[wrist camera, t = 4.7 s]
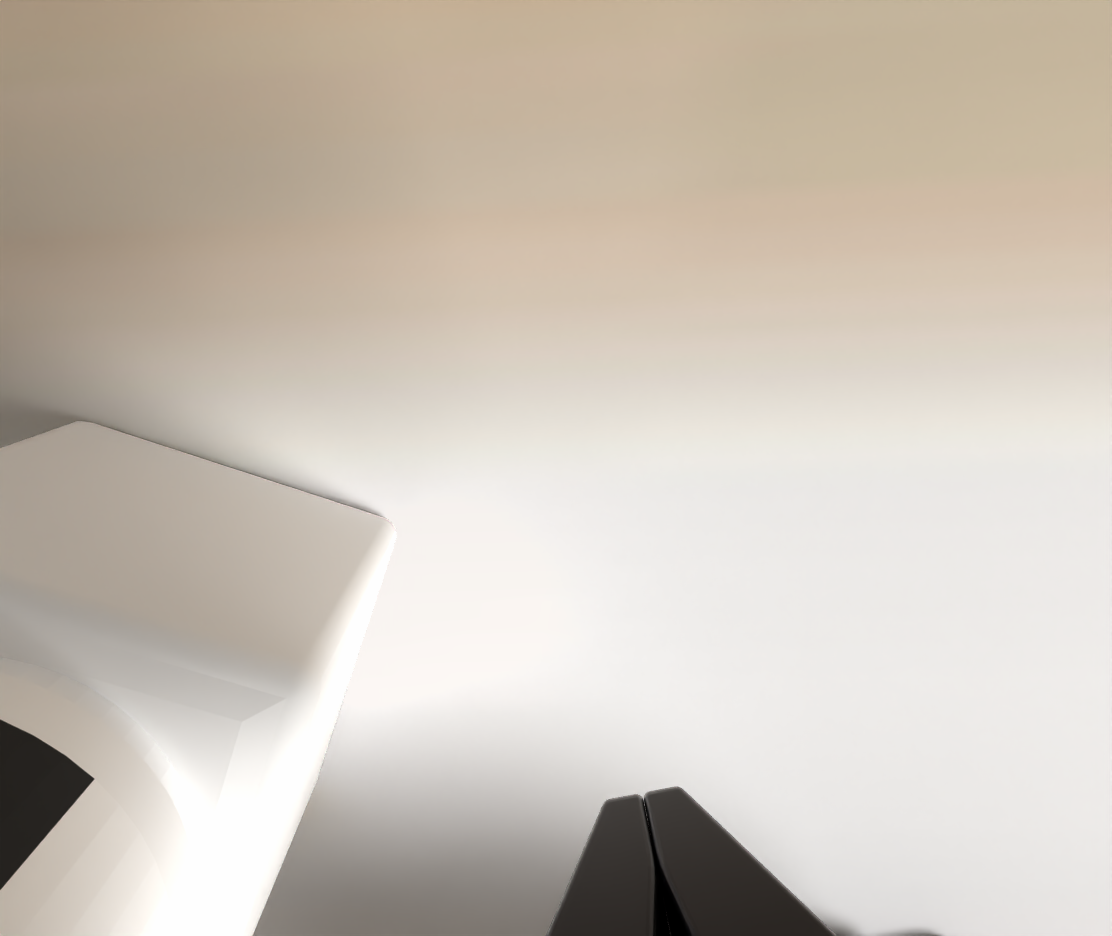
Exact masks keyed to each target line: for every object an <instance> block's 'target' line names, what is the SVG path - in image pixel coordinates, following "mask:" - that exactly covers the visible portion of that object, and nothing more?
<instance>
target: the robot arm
mask: <svg viewBox="0 0 1112 936" xmlns="http://www.w3.org/2000/svg"><path fill="white" fill-rule="evenodd" d="M644 804H645V806H644ZM645 809H646V810H645ZM646 814H647V815H646ZM647 819H648V820H647ZM648 824H649V825H648ZM649 829H650V830H649ZM546 936H837V935H836V934H835V933H834V932H833V931H832V930H831V929H830V928H828V927H827V926H826V925H825V924H824V923H823V922H822V921H821V920H820V919H819V918H818V917H817V916H816V915H815V914H814V913H813V912H812V911H811V910H810V909H808V908H807V907H806V906H805V905H804V904H803V903H802V902H801V901H800V900H799V899H798V898H797V897H796V896H795V895H794V894H793V893H792V892H791V891H790V890H788V889H787V888H786V887H785V886H784V885H783V884H782V883H781V882H780V881H779V880H778V879H777V878H776V877H775V876H774V875H773V874H772V873H771V872H770V871H768V870H767V869H766V868H765V867H764V866H763V865H762V864H761V863H760V862H759V861H758V860H757V859H756V858H755V857H754V856H753V855H752V854H751V853H750V852H749V851H747V850H746V849H745V848H744V847H743V846H742V845H741V844H740V843H739V842H738V841H737V840H736V839H735V838H734V837H733V836H732V835H731V834H730V833H729V832H727V831H726V830H725V829H724V828H723V827H722V826H721V825H720V824H719V823H718V822H717V821H716V820H715V819H714V818H713V817H712V816H711V815H710V814H709V813H707V812H706V811H705V810H704V809H703V808H702V807H701V806H700V805H699V804H698V803H697V802H696V801H695V800H694V799H693V798H692V797H691V796H690V795H689V794H687V793H686V792H685V791H684V790H683V789H682V788H680V787H671V788H665V789H660V790H655V791H650V792H647V793H646V794H645V796H644V801H643V798H642V797H641V796H640V795H638V794H634V795H628V796H623V797H618V798H612V799H609V800H606V801H605V802H604V804H603V806H602V808H601V810H600V812H599V815H598V817H597V819H596V822H595V824H594V826H593V829H592V831H591V833H590V835H589V838H588V840H587V842H586V845H585V847H584V849H583V852H582V854H581V856H580V858H579V861H578V863H577V865H576V868H575V870H574V872H573V874H572V877H571V879H570V881H569V884H568V886H567V888H566V891H565V893H564V895H563V897H562V900H561V902H560V904H559V907H558V909H557V911H556V914H555V916H554V918H553V920H552V923H551V925H550V927H549V930H548V932H547V934H546Z"/></svg>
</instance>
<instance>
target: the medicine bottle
mask: <svg viewBox="0 0 1112 936" xmlns="http://www.w3.org/2000/svg"><path fill="white" fill-rule="evenodd" d="M395 541H396V529H395V527H394V525H393V523H392V522H391V521H389V520H388V519H386V518H384V517H381V516H378V515H374V514H371V513H368V512H365V511H362V510H359V509H356V508H353V507H350V506H347V505H344V504H341V503H338V502H335V501H331V500H328V499H325V498H322V497H319V496H316V495H313V494H310V493H307V492H304V491H301V490H298V489H295V488H291V487H288V486H285V485H282V484H279V483H276V482H273V481H270V480H267V479H264V478H261V477H258V476H255V475H252V474H248V473H245V472H242V471H239V470H236V469H233V468H230V467H227V466H224V465H221V464H218V463H215V462H212V461H209V460H205V459H202V458H199V457H196V456H193V455H190V454H187V453H184V452H181V451H178V450H175V449H172V448H169V447H166V446H162V445H159V444H156V443H153V442H150V441H147V440H144V439H141V438H138V437H135V436H132V435H129V434H126V433H122V432H119V431H116V430H113V429H110V428H107V427H104V426H101V425H98V424H95V423H92V422H83V421H76V422H73V423H71V424H68V425H65V426H62V427H59V428H56V429H53V430H50V431H47V432H45V433H42V434H39V435H36V436H33V437H30V438H27V439H24V440H22V441H19V442H16V443H13V444H10V445H7V446H4V447H1V448H0V936H253V933H254V931H255V929H256V926H257V924H258V921H259V919H260V917H261V914H262V912H263V909H264V907H265V905H266V902H267V900H268V897H269V895H270V893H271V890H272V888H273V885H274V883H275V881H276V878H277V876H278V873H279V871H280V869H281V866H282V864H283V861H284V859H285V857H286V854H287V852H288V849H289V847H290V845H291V842H292V840H293V837H294V835H295V833H296V830H297V828H298V825H299V823H300V821H301V818H302V816H303V813H304V811H305V809H306V806H307V804H308V801H309V799H310V797H311V794H312V792H313V789H314V787H315V785H316V782H317V779H318V776H319V773H320V770H321V767H322V764H323V761H324V758H325V755H326V752H327V749H328V745H329V742H330V739H331V736H332V733H333V730H334V727H335V724H336V721H337V718H338V715H339V712H340V709H341V706H342V703H343V700H344V697H345V694H346V690H347V687H348V684H349V681H350V678H351V675H352V672H353V669H354V666H355V663H356V660H357V657H358V654H359V651H360V648H361V645H362V642H363V639H364V635H365V632H366V629H367V626H368V623H369V620H370V617H371V614H372V611H373V608H374V605H375V602H376V599H377V596H378V593H379V590H380V587H381V584H382V581H383V577H384V574H385V571H386V568H387V565H388V562H389V559H390V556H391V553H392V550H393V547H394V544H395Z"/></svg>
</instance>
